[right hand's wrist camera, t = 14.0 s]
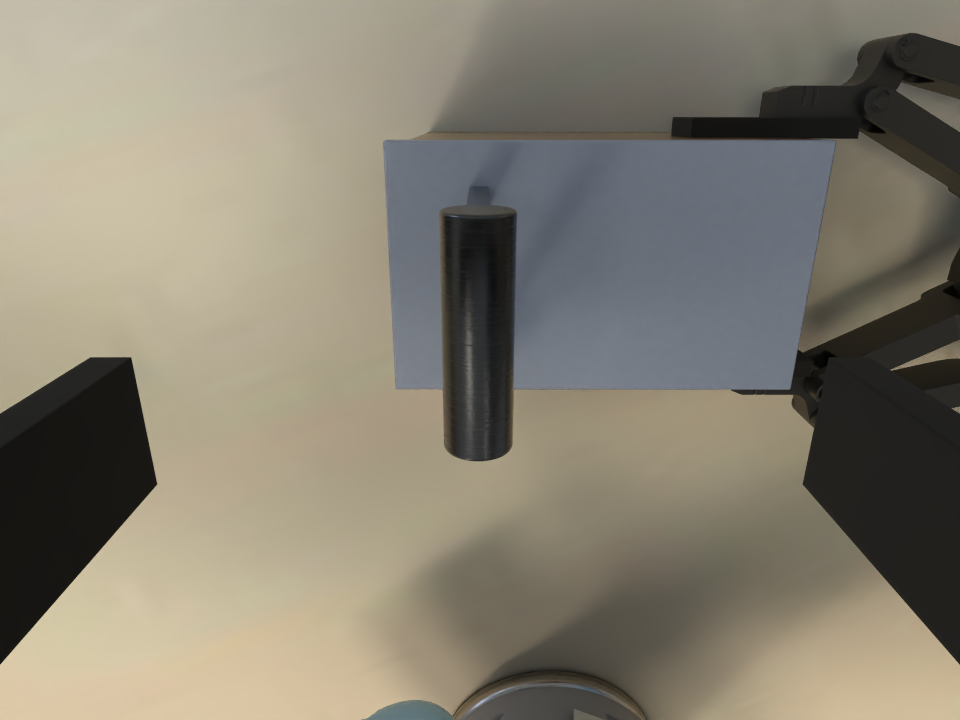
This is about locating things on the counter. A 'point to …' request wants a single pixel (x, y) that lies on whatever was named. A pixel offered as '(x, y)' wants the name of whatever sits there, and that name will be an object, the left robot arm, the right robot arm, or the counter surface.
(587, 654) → the counter surface
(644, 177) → the lid
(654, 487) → the counter surface
